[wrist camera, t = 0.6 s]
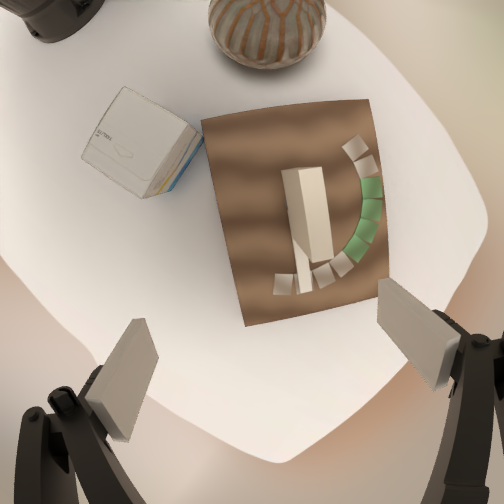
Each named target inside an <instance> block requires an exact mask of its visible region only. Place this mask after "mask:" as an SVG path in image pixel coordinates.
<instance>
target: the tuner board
mask: <svg viewBox="0 0 504 504" xmlns="http://www.w3.org/2000/svg"><path fill="white" fill-rule="evenodd" d="M201 125H202V130H203V135H204V140H205V145H206V150H207V155H208V160H209V165H210V170H211V175H212V180H213V185H214V190H215V194H216V199H217V204H218V209H219V213H220V218H221V223H222V227H223V232H224V236H225V241H226V246H227V250H228V255H229V259H230V263H231V268H232V272H233V277H234V281H235V285H236V290H237V294H238V298H239V303H240V307H241V311H242V315H243V320H244V324H245V327H247V326H252V325H257V324H263V323H268V322H273V321H278V320H283V319H287V318H292V317H297V316H301V315H306V314H310V313H315V312H319V311H323V310H328V309H332V308H336V307H340V306H344V305H348V304H352V303H356V302H360V301H363V300H367V299H371V298H375V297H378V280H380V279H385V278H389V248H388V229H387V216H386V204H385V195H384V186H383V177H382V170H381V163H380V156H379V150H378V144H377V138H376V133H375V127H374V122H373V117H372V112H371V108H370V103H369V99H362V100H338V101H323V102H312V103H301V104H292V105H284V106H276V107H269V108H262V109H256V110H250V111H244V112H239V113H233V114H228V115H223V116H218V117H213V118H209V119H204V120H201ZM299 167H322V172H323V179H324V185H325V191H326V198H327V205H328V212H329V220H330V228H331V236H332V245H333V254H334V259H329V260H324V261H320V262H315V263H312V262H311V261H310V259H309V258H308V260H309V268H310V276H311V284H312V291H309V292H305V293H300V290H299V282H298V275H297V269H296V262H295V255H294V249H293V242H292V236H291V230H290V224H289V217H288V212H287V210H288V208H287V207H286V206H285V203H284V199H285V197H286V195H285V189H284V184H283V178H282V173H281V170H286V169H292V168H299Z"/></svg>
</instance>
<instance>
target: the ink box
mask: <svg viewBox="0 0 504 504" xmlns="http://www.w3.org/2000/svg"><path fill="white" fill-rule="evenodd" d="M203 141H204V137H203V136H202V135H201V134H200V133H199V132H198V131H196V130H195V129H194V128H193V127H192V126H191V125H190V124H189V123H188V122H186V121H184V120H183V119H181V118H179V117H178V116H176V115H174V114H173V113H171V112H169V111H168V110H166V109H164V108H163V107H161V106H159V105H157V104H156V103H154V102H152V101H151V100H149V99H147V98H145V97H144V96H142V95H140V94H138V93H136V92H135V91H133V90H131V89H129V88H127V87H123V88H122V89H121V90H120V92H119V93H118V95H117V96H116V98H115V99H114V100H113V102H112V103H111V105H110V106H109V108H108V109H107V111H106V112H105V114H104V116H103V117H102V119H101V120H100V122H99V124H98V126H97V127H96V129H95V131H94V133H93V135H92V136H91V138H90V140H89V142H88V144H87V146H86V148H85V150H84V152H83V154H82V156H81V158H82V159H83V160H84V161H86V162H87V163H88V164H90V165H91V166H93V167H94V168H96V169H97V170H99V171H100V172H102V173H103V174H104V175H106V176H107V177H109V178H110V179H112V180H113V181H115V182H116V183H118V184H119V185H121V186H122V187H123V188H125V189H126V190H128V191H130V192H131V193H133V194H134V195H136V196H137V197H139V198H140V199H145V198H148V197H151V196H154V195H158V194H161V193H165V192H169V191H171V190H172V188H173V187H174V185H175V184H176V182H177V181H178V179H179V178H180V176H181V175H182V173H183V172H184V170H185V169H186V167H187V166H188V164H189V163H190V161H191V160H192V158H193V157H194V155H195V154H196V152H197V151H198V149H199V147H200V146H201V144H202V143H203Z"/></svg>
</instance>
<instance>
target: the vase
mask: <svg viewBox="0 0 504 504" xmlns="http://www.w3.org/2000/svg"><path fill="white" fill-rule="evenodd" d="M208 21H209V28H210V31H211V34H212V37H213V39H214V41H215V42H216V44H217V46H218V47H219V48H220V49H221V51H222V52H223V53H225V54H226V55H227V56H228V57H229V58H231V59H232V60H234V61H236V62H238V63H240V64H242V65H244V66H248V67H251V68H256V69H279V68H283V67H287V66H290V65H292V64H295V63H297V62H299V61H300V60H302V59H303V58H305V57H306V56H307V55H308V54H309V53H310V52H311V51H312V50H313V49H314V48H315V47H316V45H317V44H318V42H319V41H320V39H321V37H322V35H323V32H324V30H325V25H326V7H325V3H324V0H211V2H210V5H209V10H208Z"/></svg>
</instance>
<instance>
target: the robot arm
mask: <svg viewBox="0 0 504 504" xmlns="http://www.w3.org/2000/svg"><path fill="white" fill-rule="evenodd" d="M103 2H104V0H0V7H2V8H4V9H6V10H8V11H10V12H12V13H14V14H16V15H17V16H19V17H21V18H22V19H23V21H24V23H25V24H26V26H27V28H28V30H29V31H30V33H31V35H32V36H33V37H34V38H36V39H38V40H40V41H42V42H45V43H53V42H57V41H60V40H62V39H64V38H66V37H68V36H70V35H72V34H73V33H75V32H76V31H77V30H79V29H80V28H81V27H83V26H84V25H85V24H86V23H87V22H88V21H89V20H90V19H91V18H92V17H93V16H94V15H95V14H96V12H97V11H98V10H99V8H100V7H101V5H102V4H103ZM377 323H378V324H379V325H380V326H381V327H382V329H383V330H384V331H385V332H386V333H387V335H388V336H389V337H390V338H391V339H392V341H393V342H394V343H395V344H396V345H397V347H398V348H399V349H400V350H401V351H402V353H403V354H404V355H405V356H406V358H407V359H408V360H409V361H410V362H411V364H412V365H413V366H414V367H415V369H416V370H417V371H418V372H419V374H420V375H421V376H422V378H423V379H424V380H425V381H426V383H427V384H428V385H429V386H430V388H431V389H432V390H433V391H436V390H438V389H441V388H443V387H445V386H447V383H448V380H449V377H450V376H451V377H452V378H453V379H454V383H453V386H452V389H451V392H450V395H449V398H451V399H450V404H449V409H448V414H447V419H446V424H445V428H444V432H443V437H442V441H441V444H440V449H439V452H438V455H437V459H436V462H435V465H434V468H433V471H432V474H431V477H430V480H429V483H428V486H427V489H426V491H425V494H424V496H423V499H422V501H421V504H487V502H488V498H489V488H488V487H486V486H485V479H486V474H487V469H488V462H489V457H490V449H491V441H492V431H493V416H494V406H495V410H496V415H497V419H498V424H499V429H500V435H501V441H502V447H503V454H504V332H503V335H502V338H501V339H496V340H490V339H489V338H488V337H487V336H485V335H482V334H472V335H470V334H469V333H468V332H467V331H465V329H463V328H462V327H461V326H460V325H458V324H457V323H455V321H454V320H452V319H450V317H449V316H447V315H446V314H445V313H443V312H441V311H438V310H436V309H435V310H430V309H429V308H428V307H427V306H425V305H424V304H423V303H422V302H421V301H419V300H418V299H417V298H416V297H414V296H413V295H412V294H411V293H409V292H408V291H407V290H405V289H404V288H403V287H402V286H400V285H399V284H398V283H397V282H395V281H394V280H393V279H391V278H390V277H389V278H385V279H380V280H378V312H377ZM158 359H159V357H158V354H157V351H156V349H155V346H154V343H153V341H152V338H151V335H150V332H149V329H148V327H147V324H146V321H145V318H140V319H132V321H131V322H130V324H129V326H128V327H127V329H126V330H125V332H124V333H123V335H122V337H121V338H120V340H119V341H118V343H117V344H116V346H115V348H114V349H113V351H112V352H111V354H110V356H109V357H108V359H107V361H106V362H105V364H104V365H100V366H98V367H97V368H96V369H95V370H94V371H93V372H92V373H91V375H90V377H89V379H88V380H87V382H86V385H84V386H83V388H82V390H81V391H80V393H79V395H78V396H77V397H76V395H75V393H74V391H73V390H72V389H71V388H70V387H68V386H62V387H59V388H57V389H55V390H53V391H52V392H51V393H50V394H49V396H48V403H49V404H50V406H51V407H52V409H53V410H54V412H55V414H46V413H45V411H44V410H43V409H42V408H41V407H32V408H30V409H28V410H27V411H26V412H25V413H24V415H23V417H22V422H21V428H20V434H19V441H18V448H17V457H16V468H15V482H14V504H79V500H78V494H77V486H76V478H75V472H76V474H77V477H78V479H79V482H80V484H81V486H82V488H83V491H84V493H85V495H86V498H87V500H88V502H89V504H146V503H145V501H144V500H143V498H142V497H141V496H140V494H139V493H138V491H137V490H136V488H135V487H134V485H133V484H132V482H131V481H130V479H129V477H128V476H127V474H126V473H125V471H124V469H123V468H122V466H121V464H120V463H119V461H118V459H117V458H116V456H115V454H114V452H113V450H112V449H111V447H110V445H109V443H108V442H107V441H106V437H107V434H109V435H110V436H111V438H112V439H113V441H118V442H127V443H129V440H130V437H131V434H132V431H133V428H134V425H135V422H136V419H137V417H138V414H139V410H140V408H141V405H142V402H143V399H144V397H145V394H146V391H147V388H148V386H149V383H150V380H151V377H152V375H153V372H154V369H155V367H156V364H157V361H158Z"/></svg>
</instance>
